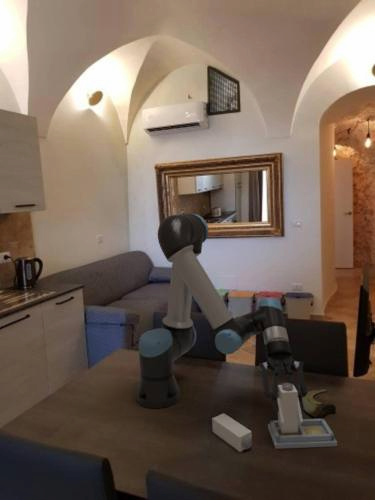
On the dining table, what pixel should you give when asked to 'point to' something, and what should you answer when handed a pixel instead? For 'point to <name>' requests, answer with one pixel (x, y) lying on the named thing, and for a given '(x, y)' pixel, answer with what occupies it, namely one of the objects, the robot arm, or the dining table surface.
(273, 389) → the robot arm
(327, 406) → the claw
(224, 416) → the white rectangular block
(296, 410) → the white square bottle
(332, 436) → the tray
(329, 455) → the dining table surface
